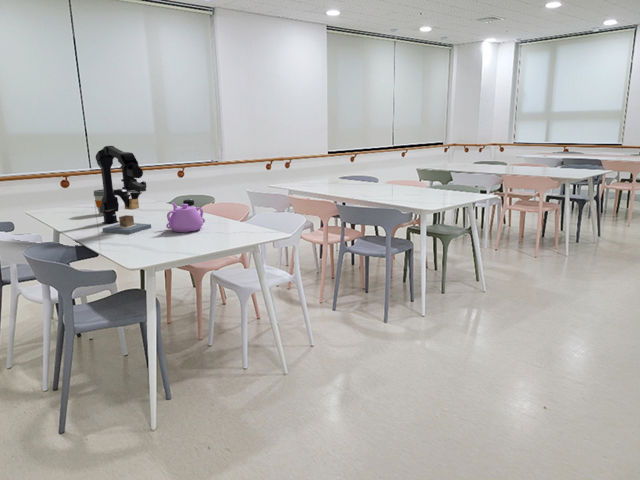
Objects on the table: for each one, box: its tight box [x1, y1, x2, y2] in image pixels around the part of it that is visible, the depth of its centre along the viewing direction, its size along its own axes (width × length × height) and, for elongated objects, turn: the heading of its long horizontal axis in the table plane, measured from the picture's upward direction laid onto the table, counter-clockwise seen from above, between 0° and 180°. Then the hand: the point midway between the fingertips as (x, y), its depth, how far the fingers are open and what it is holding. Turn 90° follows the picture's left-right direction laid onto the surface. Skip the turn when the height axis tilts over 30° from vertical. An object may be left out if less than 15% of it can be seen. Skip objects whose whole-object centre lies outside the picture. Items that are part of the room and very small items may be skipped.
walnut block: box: [118, 214, 135, 227], centre depth 260 cm, size 5×5×5 cm
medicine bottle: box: [182, 198, 199, 212], centre depth 284 cm, size 7×7×12 cm
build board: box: [102, 222, 152, 235], centre depth 261 cm, size 18×16×2 cm
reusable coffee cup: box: [93, 188, 115, 216], centre depth 308 cm, size 12×13×15 cm
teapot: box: [165, 201, 206, 233], centre depth 259 cm, size 22×22×14 cm
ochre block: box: [123, 197, 140, 211], centre depth 261 cm, size 5×5×5 cm
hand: (131, 206), depth 261 cm, fingers closed on ochre block, 5 cm apart
